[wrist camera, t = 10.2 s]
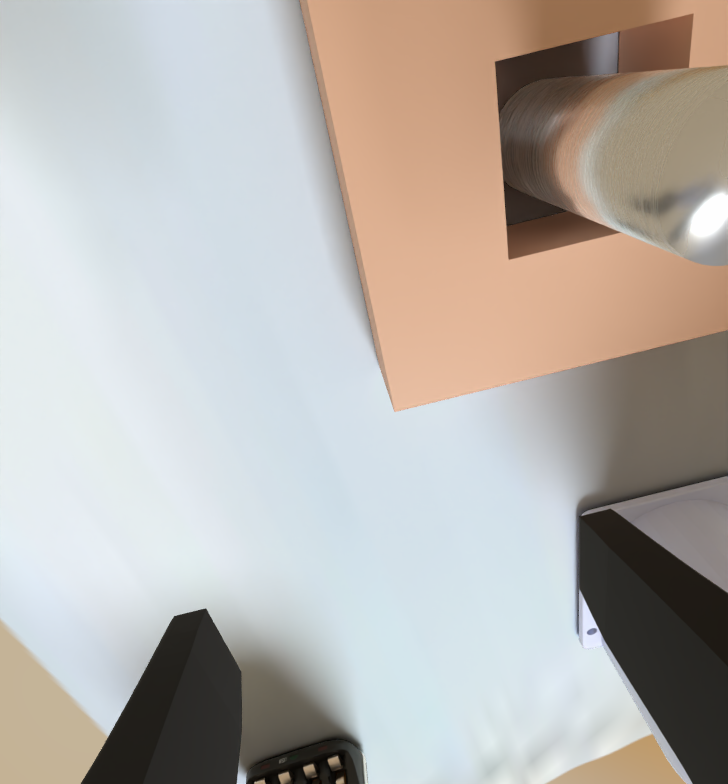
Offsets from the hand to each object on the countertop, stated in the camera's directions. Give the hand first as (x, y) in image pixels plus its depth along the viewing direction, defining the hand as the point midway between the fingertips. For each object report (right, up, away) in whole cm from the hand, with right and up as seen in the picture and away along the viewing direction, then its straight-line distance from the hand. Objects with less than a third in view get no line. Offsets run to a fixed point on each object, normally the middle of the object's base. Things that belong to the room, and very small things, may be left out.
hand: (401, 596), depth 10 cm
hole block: (+4, +11, +5) cm, 13 cm away
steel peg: (+4, +11, +5) cm, 13 cm away
